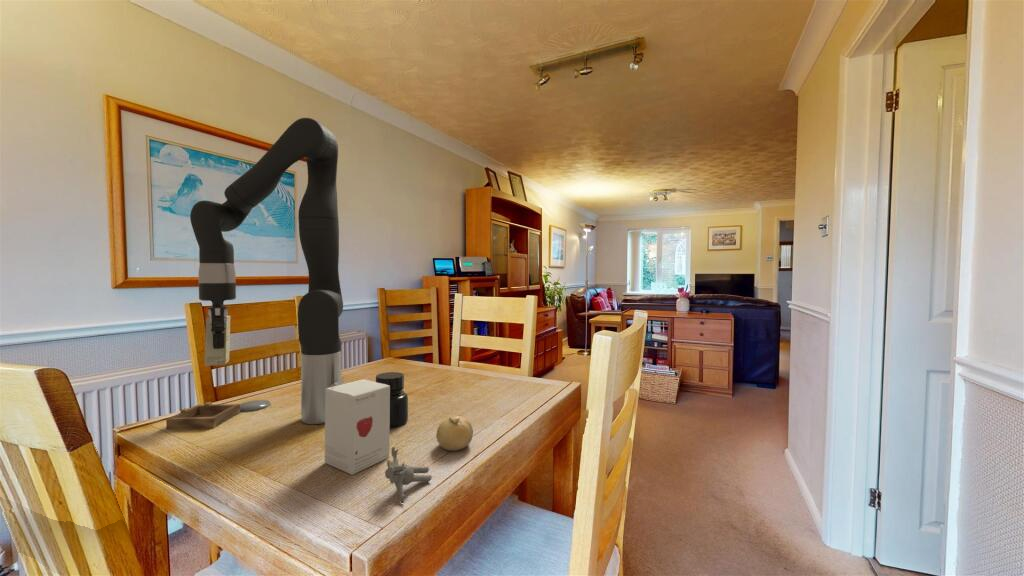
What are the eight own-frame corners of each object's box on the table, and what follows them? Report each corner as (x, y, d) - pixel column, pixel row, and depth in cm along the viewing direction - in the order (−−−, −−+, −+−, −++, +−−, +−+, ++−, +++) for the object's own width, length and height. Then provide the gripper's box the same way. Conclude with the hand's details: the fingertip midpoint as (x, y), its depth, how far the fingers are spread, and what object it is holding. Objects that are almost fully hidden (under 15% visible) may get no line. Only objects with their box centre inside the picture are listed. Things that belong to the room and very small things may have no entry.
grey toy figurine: (445, 494, 66) (400, 495, 60) (423, 511, 68) (378, 515, 62) (431, 440, 73) (390, 437, 66) (412, 457, 74) (371, 456, 68)
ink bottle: (373, 416, 101) (373, 371, 100) (408, 414, 103) (408, 369, 103) (369, 431, 91) (369, 381, 91) (407, 428, 94) (407, 379, 93)
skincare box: (225, 365, 97) (227, 317, 97) (203, 366, 95) (205, 317, 95) (229, 360, 102) (231, 315, 102) (208, 361, 100) (210, 315, 100)
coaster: (275, 401, 112) (275, 399, 112) (260, 411, 104) (260, 409, 104) (246, 402, 111) (246, 400, 111) (228, 412, 103) (228, 409, 103)
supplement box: (351, 476, 71) (352, 396, 70) (323, 463, 76) (323, 388, 75) (391, 457, 79) (391, 384, 78) (362, 446, 83) (363, 378, 83)
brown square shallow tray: (240, 412, 102) (240, 401, 102) (213, 428, 92) (213, 415, 92) (197, 413, 101) (197, 402, 101) (166, 429, 91) (165, 416, 91)
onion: (428, 447, 84) (428, 414, 83) (456, 436, 90) (456, 405, 89) (452, 458, 78) (452, 424, 78) (480, 446, 84) (480, 414, 84)
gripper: (236, 281, 95) (237, 349, 95) (235, 281, 106) (236, 341, 107) (196, 282, 90) (198, 352, 91) (200, 281, 102) (201, 343, 102)
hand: (219, 346), depth 99 cm, fingers closed on skincare box, 6 cm apart
